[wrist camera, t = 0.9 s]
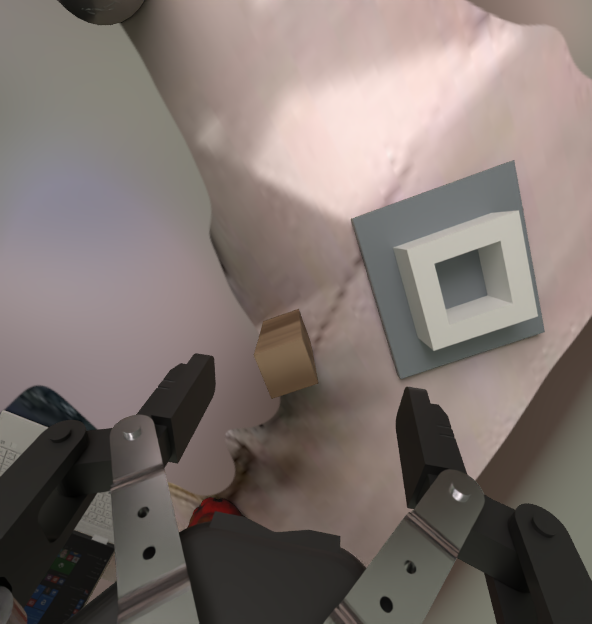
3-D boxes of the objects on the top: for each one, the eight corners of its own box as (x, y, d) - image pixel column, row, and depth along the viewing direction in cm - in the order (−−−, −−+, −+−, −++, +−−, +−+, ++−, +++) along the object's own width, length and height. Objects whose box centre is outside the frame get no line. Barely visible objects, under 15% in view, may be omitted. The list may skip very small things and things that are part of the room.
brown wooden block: (263, 321, 36) (253, 355, 26) (298, 309, 35) (301, 338, 26) (276, 354, 37) (271, 398, 27) (310, 342, 36) (318, 383, 27)
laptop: (156, 465, 40) (94, 574, 27) (120, 541, 42) (49, 673, 30) (6, 406, 38) (-136, 495, 25) (-21, 490, 40) (-164, 609, 28)
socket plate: (350, 219, 33) (361, 217, 28) (507, 162, 32) (546, 150, 27) (397, 375, 37) (413, 396, 32) (537, 329, 36) (576, 344, 31)
